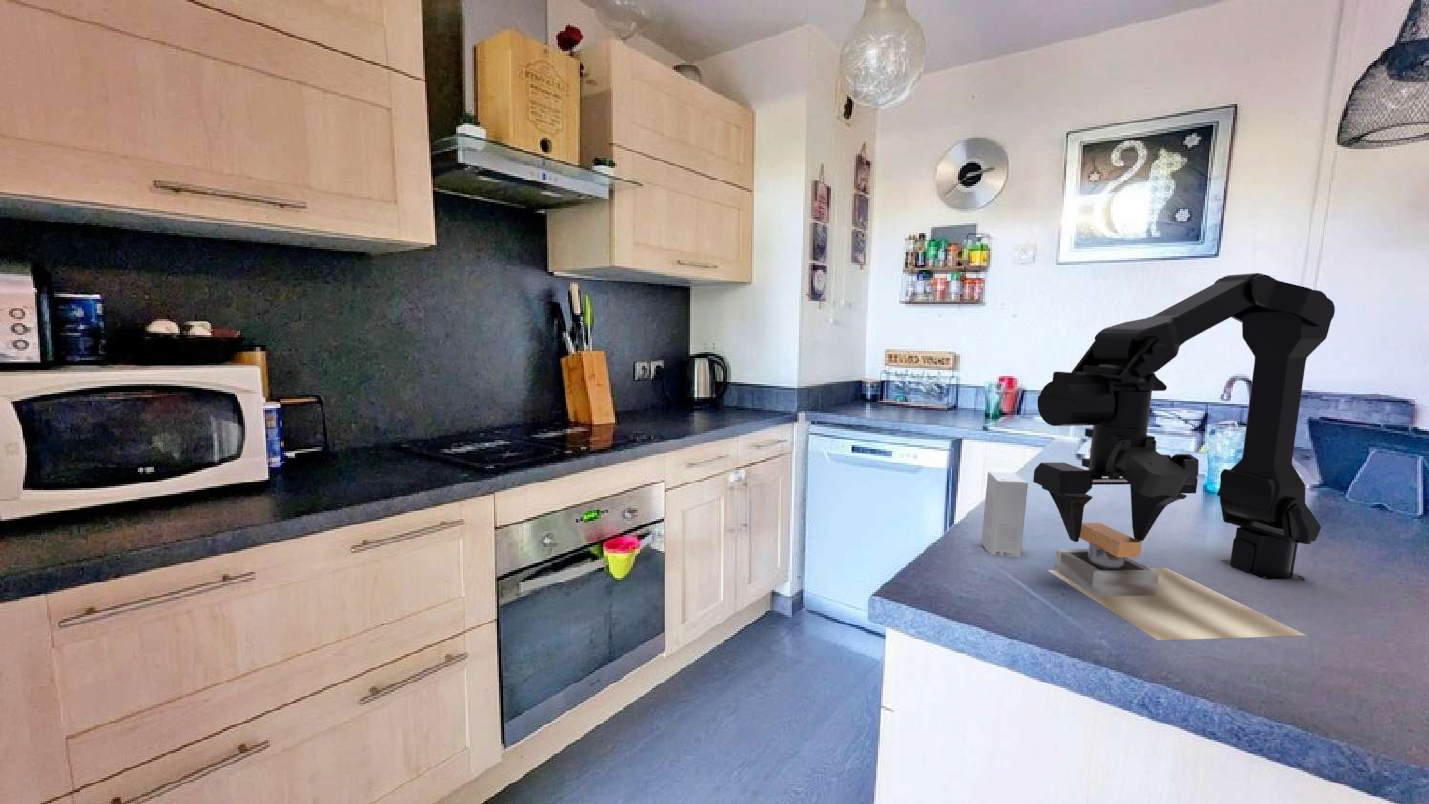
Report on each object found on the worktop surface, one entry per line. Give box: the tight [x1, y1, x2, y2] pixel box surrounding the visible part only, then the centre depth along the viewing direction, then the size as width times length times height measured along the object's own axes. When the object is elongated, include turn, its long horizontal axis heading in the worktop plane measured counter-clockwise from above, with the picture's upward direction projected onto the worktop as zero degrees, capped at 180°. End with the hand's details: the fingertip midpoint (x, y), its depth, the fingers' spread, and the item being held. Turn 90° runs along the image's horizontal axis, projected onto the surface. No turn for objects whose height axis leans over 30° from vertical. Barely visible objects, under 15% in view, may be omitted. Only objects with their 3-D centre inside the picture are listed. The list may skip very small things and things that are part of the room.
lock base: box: [1047, 548, 1307, 642], centre depth 71 cm, size 18×18×4 cm
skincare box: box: [981, 471, 1029, 558], centre depth 87 cm, size 6×4×12 cm
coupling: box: [1079, 522, 1143, 571], centre depth 76 cm, size 7×4×7 cm, turn 5°
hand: (1106, 540), depth 75 cm, fingers open, 9 cm apart
